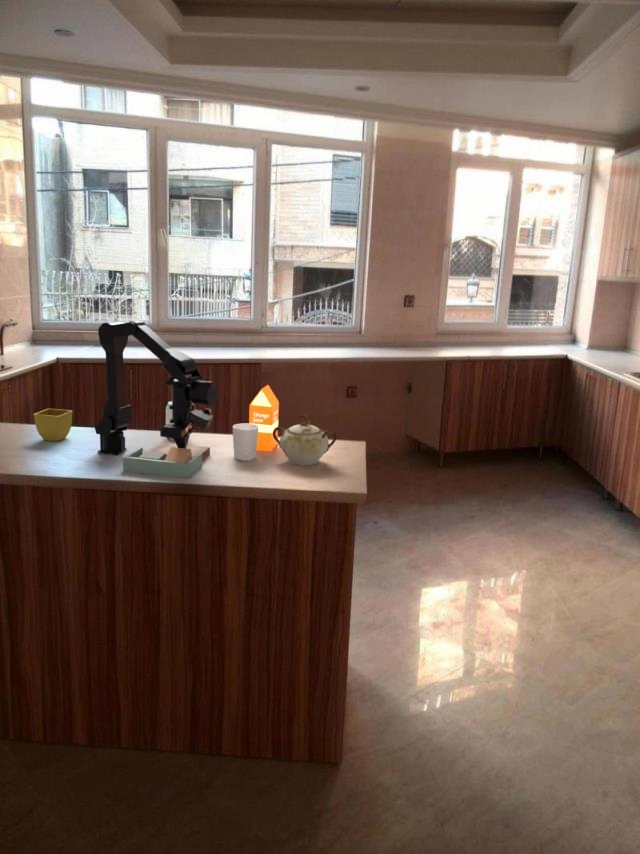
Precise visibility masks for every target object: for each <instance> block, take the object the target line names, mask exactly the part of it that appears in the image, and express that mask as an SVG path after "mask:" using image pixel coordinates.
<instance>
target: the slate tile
mask: <svg viewBox="0 0 640 854" xmlns="http://www.w3.org/2000/svg"><path fill="white" fill-rule="evenodd" d="M138 458H145V459H154V460H163V461H164V460H165V458H166V453H161V452H149V451H148V450H147V451H144V452H143V454H142V455H141V456H139V457H138Z"/></svg>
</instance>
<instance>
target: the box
mask: <svg viewBox="0 0 640 854" xmlns="http://www.w3.org/2000/svg"><path fill="white" fill-rule="evenodd" d="M143 450H144V447H143V446H141V447H140V446H139V447H137V448H136V449H134V450H132V451H130V452H129V453H127V454H126V455H124V456H123V457H122V470H123V472H131V473H139V474H140V473H142V474H147V475H149V474H150V475H158V476H166V477H175V478H182V479H189V478H190V477H192V476H193V475H194V474H195V473H196V472H198V470H200V469H201V468H202V467H203V463H202V462H203V461H202V454H197V455H196V456H195V457H193V458H192V459H191V460H190V461H188V462H187V463H181V462H172V461H163V460H154V459H145V458H138V457H139V456H141V455H142V454H143V453H144V452H143Z"/></svg>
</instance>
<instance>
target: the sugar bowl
mask: <svg viewBox="0 0 640 854" xmlns="http://www.w3.org/2000/svg"><path fill="white" fill-rule="evenodd" d="M302 418H304V419H306V420H307V421H306V422H302V421H301V419H302ZM297 419H298V420H297V421H298V424H296V425H295V424H294V425H293V426H290V427H288V428H285V427H284V426H278V427H276V428H275V429H274V430H273V437H274V439H275V440H276V441H277V445H279V447H280V449H281V451H282V452H283V454H284V455H285V456H286V458H287V459H288V461H289V462H290V464H292V465H295V466H302V467H309V466H314V465H316V464H318V462H319V461H320V460H321V458H322V457H323V456H324V455H325V454H326V453H327V452H328V451H329V450H330V448H331V447H333V445H334V444H335V443H336V441H337V434H336V432H335V431H334V430H332V429H327V430H325V431H323V429H322V428H320V427H317V426H315V425H312V424H311V423H310V422H311V419H310V417H309V416H307V415H306V414H301V415H300V416H298V417H297ZM277 430H278V431H281V436H280V438H278V437H276V431H277ZM327 434H331V435H332V436H333V439H332V440H331V442H330V443H329V438H328V435H327Z"/></svg>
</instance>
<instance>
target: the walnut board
mask: <svg viewBox="0 0 640 854" xmlns="http://www.w3.org/2000/svg"><path fill="white" fill-rule="evenodd" d="M171 447H175V448H178V447H177V445H176V443H175V442H174V443H173V442H163V441H160V442H159V443H157V444H156V445H154V446H153V447H151V448H150V449H148V450H147V451H149V452H161V453H166V456H167V454H168V452H169V450H170V448H171ZM186 449H191V453H192V457H191V459H192V458H193V457H195V456H196V455H197V454H202V462H203V461H205V460H206V459H207V458H208V457H209V456H210V455H211V446H204V445H203V446H201V445H193V444H192V445H191V444H187V447H186ZM191 459H190V460H191Z"/></svg>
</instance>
